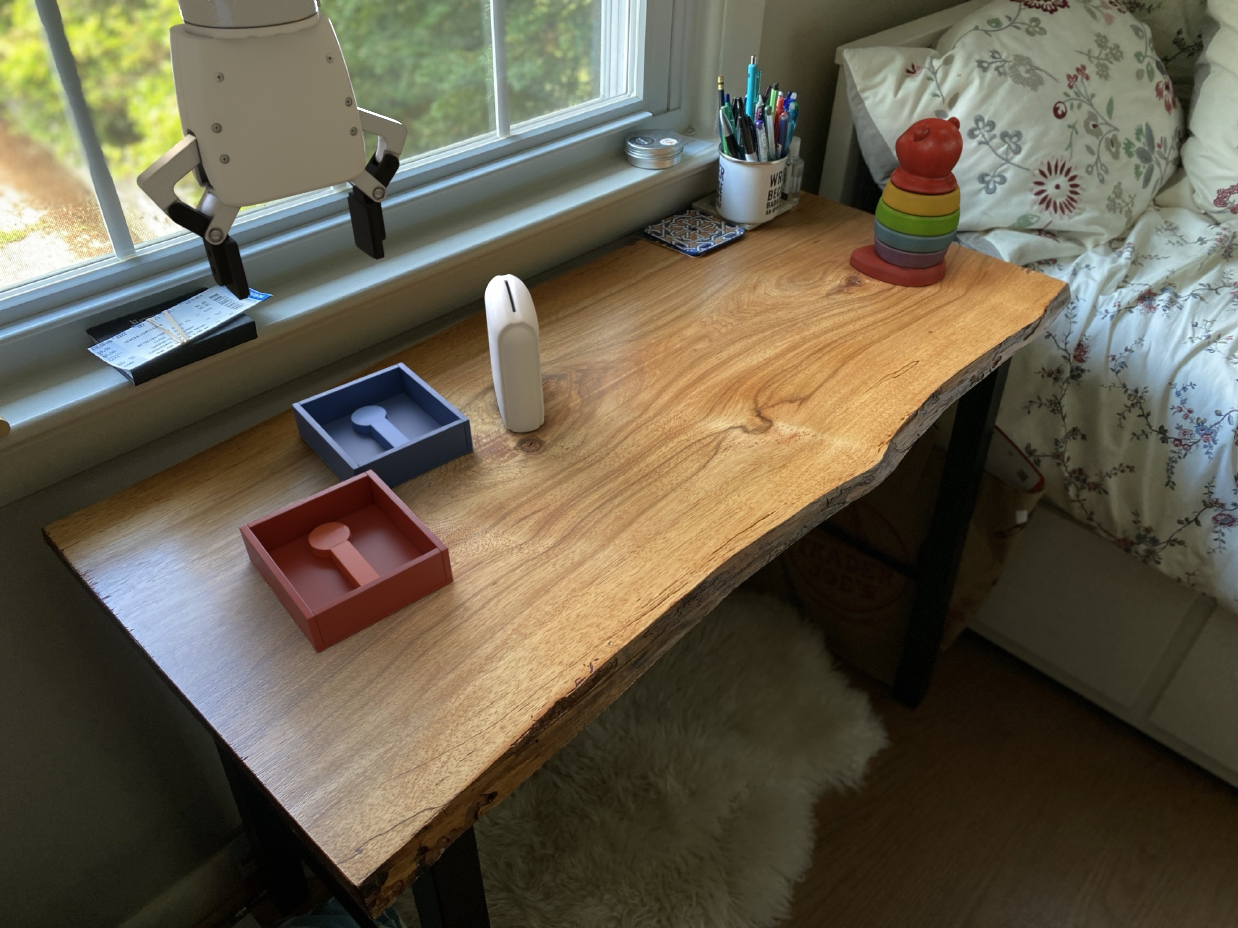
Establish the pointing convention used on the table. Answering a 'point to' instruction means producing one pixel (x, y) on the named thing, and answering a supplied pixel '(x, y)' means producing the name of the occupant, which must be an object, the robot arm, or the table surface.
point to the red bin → (319, 587)
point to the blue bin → (408, 408)
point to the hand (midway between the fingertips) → (306, 271)
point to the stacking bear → (916, 208)
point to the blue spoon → (377, 426)
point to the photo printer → (515, 353)
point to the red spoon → (341, 552)
